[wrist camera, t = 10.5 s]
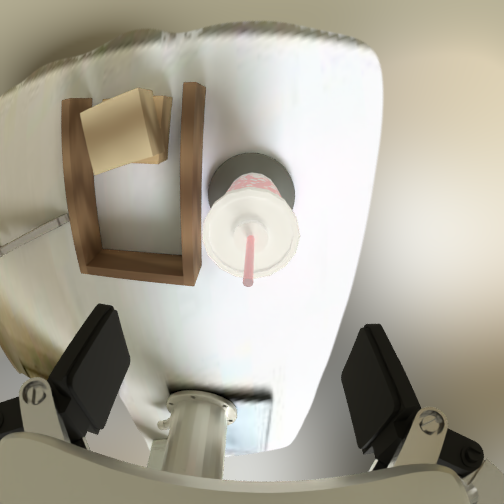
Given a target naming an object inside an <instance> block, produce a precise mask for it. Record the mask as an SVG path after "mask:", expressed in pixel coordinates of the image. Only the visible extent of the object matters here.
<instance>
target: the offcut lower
mask: <svg viewBox="0 0 504 504" xmlns="http://www.w3.org/2000/svg"><path fill="white" fill-rule="evenodd" d="M153 98H154V103H155V107H156V112H157V117H158V121H159V126H160V130H161V135H162V139H163V144H164V148H165V152H162V153H160V154H157V155H155V156H152V157H149V158H146V159H142V160H139V161H136V162H133V163H145V164H159V163H161V162H163V161H165V160H167V159H168V143H169V130H170V118H171V108H172V98H171V97H167V96H153ZM107 100H109V99H103V102H104V101H107Z"/></svg>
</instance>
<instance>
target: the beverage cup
mask: <svg viewBox="0 0 504 504" xmlns="http://www.w3.org/2000/svg"><path fill="white" fill-rule="evenodd" d="M299 238H300V233H299V227H298V222H297V218H296V216H295V214H294V212H293V211H292V209H291V208H290V207H289V205H288V204H287V202H286V201H285V200H284V199H283V198H282V197H281V195H280V193H279V191H278V189H277V187H276V186H275V185H274V183H273V182H272V180H271V179H269V178H268V177H266V176H264V175H263V174H258V173H248V174H244V175H242V176H240V177H239V178H237V179H236V180H235V181H234V182H233V183H232V185H231V186H230V188H229V189H228V191H227V192H226V194H225V195H224V196H222V197H221V198H220V199H218V200H217V201H216V202H215V203H214V204H213V206H212V208H211V209H210V211H209V213H208V215H207V216H206V218H205V220H204V224H203V236H202V240H203V243H204V245H205V248H206V251H207V254H208V256H209V257H210V258H211V259H212V260H213V261H214V263H215V264H216V265H217V266H218V267H219V268H220V269H222V270H224V271H226V272H228V273H230V274H232V275H233V276H236V277H243V284H244V286H246V287H250V286H252V285H253V279H255V278H260V277H265V276H270V275H272V274H274V273H275V272H277V271H279V270H280V269H282V268H284V267H285V266H286V265H287V264H288V262H289V261H290V260H291V259H292V257H293V256H294V255H295V253H296V250H297V246H298V242H299Z"/></svg>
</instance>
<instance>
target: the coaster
mask: <svg viewBox="0 0 504 504" xmlns="http://www.w3.org/2000/svg"><path fill="white" fill-rule="evenodd" d="M248 173H258V174H263V175H264V176H266V177H268V178H269V179H271V180H272V182H273V183H274V185H275V186H276V187H277V189H278V191H279V193H280V195H281V197H282V198H283V199H284V200H285V201H286V202H287V204H288V205H289V207H290V208H291V209H293V206H294V200H295V190H294V185H293V182H292V179H291V177H290V175H289V174H288V172H287V171H286V169H285V168H284V167H283V166H282V165H281V164H280V163H279V162H277V161H276V160H275V159H273V158H271V157H269V156H266V155H263V154H259V153H245V154H240V155H237V156H234V157H232V158H230V159H229V160H227V161H226V162H224V163H223V164H222V165H221V166H220V167H219V168H218V169H217V171H216V172H215V174H214V175H213V177H212V179H211V182H210V185H209V191H208V198H209V204H210V208H212V206H213V204H214V203H215V202H216V201H217V200H218V199H220V198H221V197H222V196H224V195H225V194H226V192H227V191H228V189H229V188H230V186H231V185H232V183H233V182H234V181H235V180H236V179H237V178H239V177H240V176H242V175H244V174H248Z"/></svg>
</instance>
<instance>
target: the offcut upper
mask: <svg viewBox="0 0 504 504" xmlns="http://www.w3.org/2000/svg"><path fill="white" fill-rule="evenodd" d="M80 117H81V122H82V126H83V131H84V136H85V140H86V144H87V149H88V153H89V157H90V161H91V164H92V168H93V172H94V175H97V174H100V173H103V172H106V171H109V170H111V169H114V168H117V167H120V166H123V165H126V164H129V163H133V162H136V161H139V160H142V159H146V158H149V157H152V156H155V155H157V154H160V153H162V152H165V148H164V144H163V139H162V135H161V130H160V126H159V121H158V117H157V112H156V107H155V103H154V98H153V93H152V91H151V90H147V89H142V88H136V89H133V90H131V91H128V92H126V93H123V94H121V95H118V96H116V97H113V98H111V99H109V100H107V101H104V102H102V103H100V104H98V105H96V106H94V107H91V108H89V109H87V110H85V111H83V112H81V113H80Z"/></svg>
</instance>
